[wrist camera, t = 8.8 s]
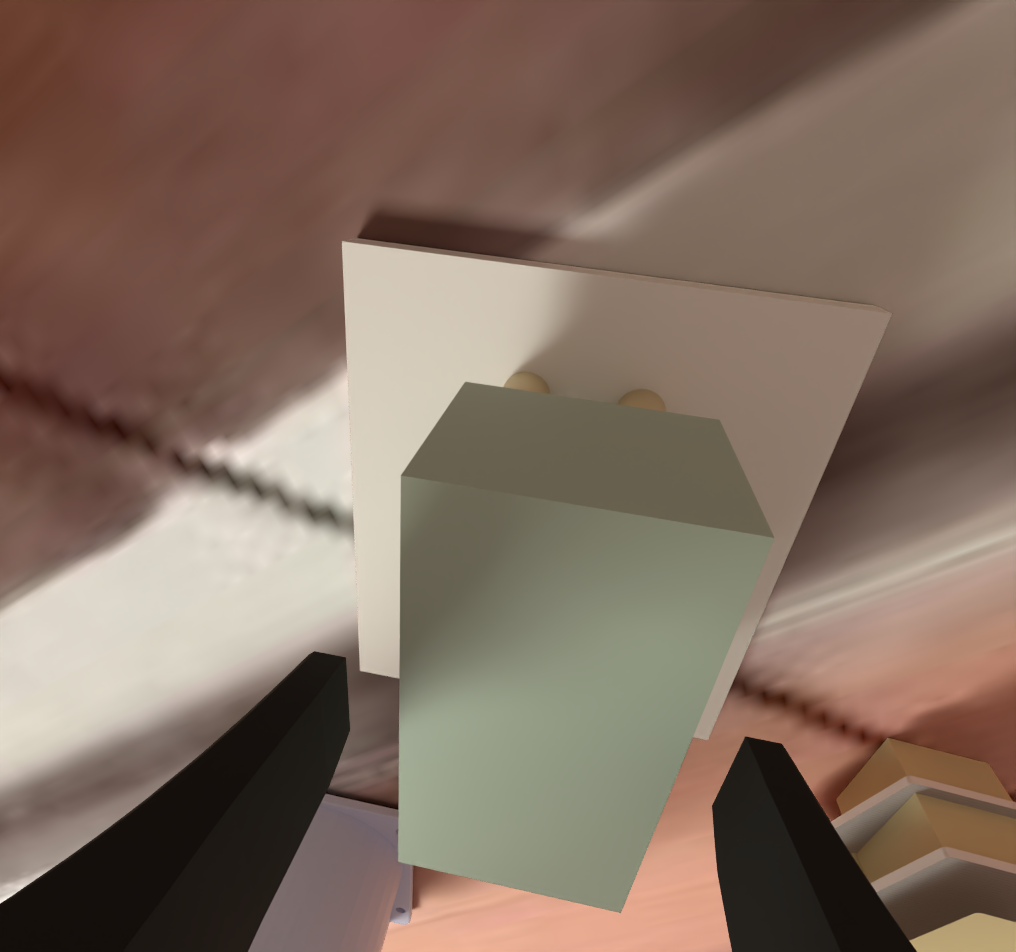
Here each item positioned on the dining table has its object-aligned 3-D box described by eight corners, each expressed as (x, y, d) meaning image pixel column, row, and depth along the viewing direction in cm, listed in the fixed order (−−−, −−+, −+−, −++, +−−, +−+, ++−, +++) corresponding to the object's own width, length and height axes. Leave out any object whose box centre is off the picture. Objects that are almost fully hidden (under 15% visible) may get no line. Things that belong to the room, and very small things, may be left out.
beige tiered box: (815, 666, 18) (892, 848, 13) (1101, 738, 17) (1290, 953, 13) (703, 833, 23) (729, 1009, 18) (924, 892, 22) (1011, 1088, 17)
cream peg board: (703, 719, 19) (721, 815, 16) (368, 653, 20) (329, 732, 17) (876, 305, 12) (958, 345, 9) (355, 238, 13) (286, 254, 10)
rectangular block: (617, 747, 16) (620, 912, 12) (443, 712, 16) (398, 862, 12) (719, 419, 11) (774, 537, 7) (465, 381, 11) (400, 476, 8)
